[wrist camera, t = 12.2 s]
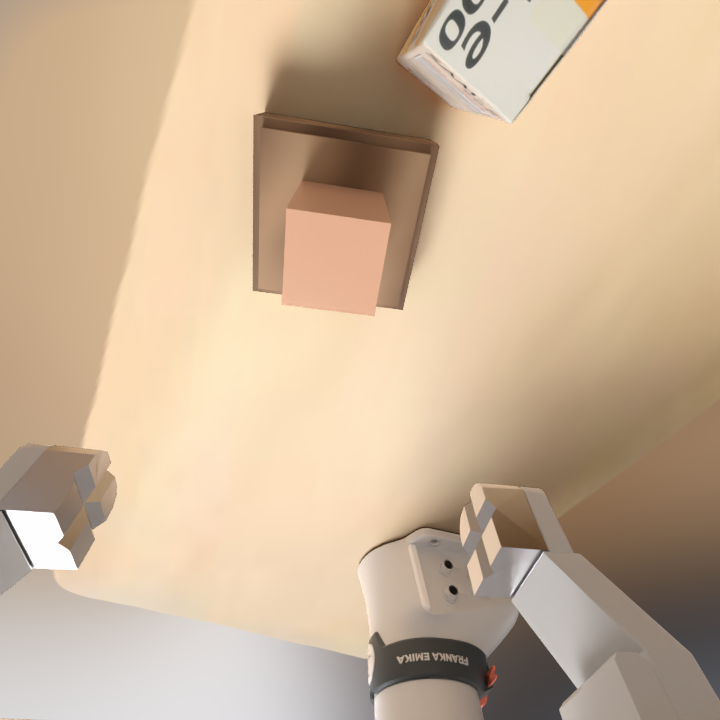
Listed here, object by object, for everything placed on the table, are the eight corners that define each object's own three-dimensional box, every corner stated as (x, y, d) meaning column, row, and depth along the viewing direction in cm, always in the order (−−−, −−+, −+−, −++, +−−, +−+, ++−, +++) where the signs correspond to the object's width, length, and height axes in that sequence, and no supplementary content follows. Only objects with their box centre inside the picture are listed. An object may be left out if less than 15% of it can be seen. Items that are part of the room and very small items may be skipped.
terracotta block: (382, 192, 26) (391, 223, 20) (370, 269, 28) (374, 316, 23) (301, 180, 25) (286, 208, 19) (296, 259, 28) (281, 304, 22)
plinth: (430, 139, 28) (441, 146, 24) (398, 291, 34) (403, 313, 30) (264, 112, 27) (251, 115, 23) (261, 272, 33) (251, 294, 29)
